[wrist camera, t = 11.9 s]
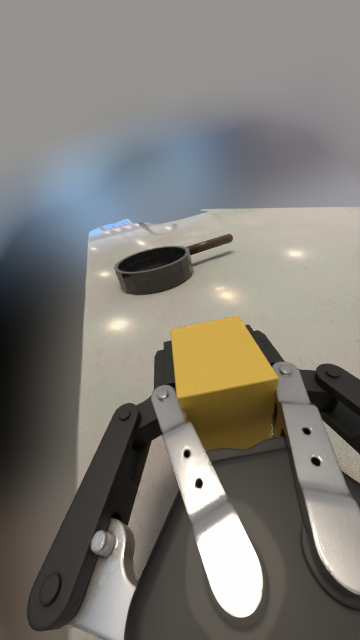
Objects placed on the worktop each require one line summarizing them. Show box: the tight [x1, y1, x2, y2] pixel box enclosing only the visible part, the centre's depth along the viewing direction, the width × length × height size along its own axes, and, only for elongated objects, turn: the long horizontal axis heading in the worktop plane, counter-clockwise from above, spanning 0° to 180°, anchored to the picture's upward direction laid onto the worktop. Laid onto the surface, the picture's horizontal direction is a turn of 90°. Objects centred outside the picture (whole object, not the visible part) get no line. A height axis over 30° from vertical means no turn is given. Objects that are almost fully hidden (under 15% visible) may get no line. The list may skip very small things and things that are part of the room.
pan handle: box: [186, 234, 233, 255], centre depth 47 cm, size 13×2×2 cm, turn 113°
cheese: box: [171, 316, 279, 451], centre depth 13 cm, size 5×4×9 cm
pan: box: [114, 246, 192, 294], centre depth 44 cm, size 17×17×4 cm
